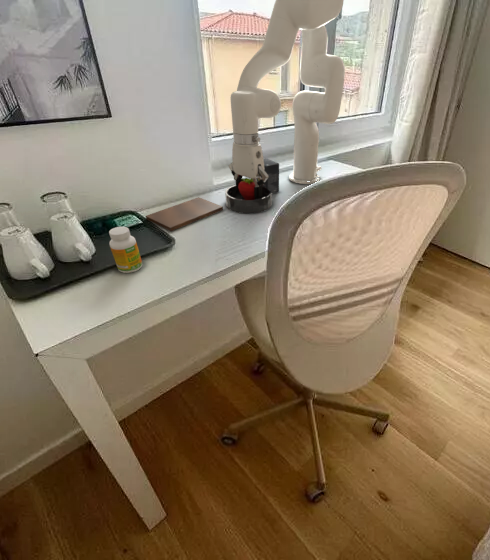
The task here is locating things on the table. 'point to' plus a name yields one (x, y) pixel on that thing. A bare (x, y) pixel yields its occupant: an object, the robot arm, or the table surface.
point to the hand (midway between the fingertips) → (249, 194)
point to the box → (271, 175)
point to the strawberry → (247, 189)
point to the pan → (248, 201)
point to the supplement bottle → (125, 250)
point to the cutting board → (184, 213)
